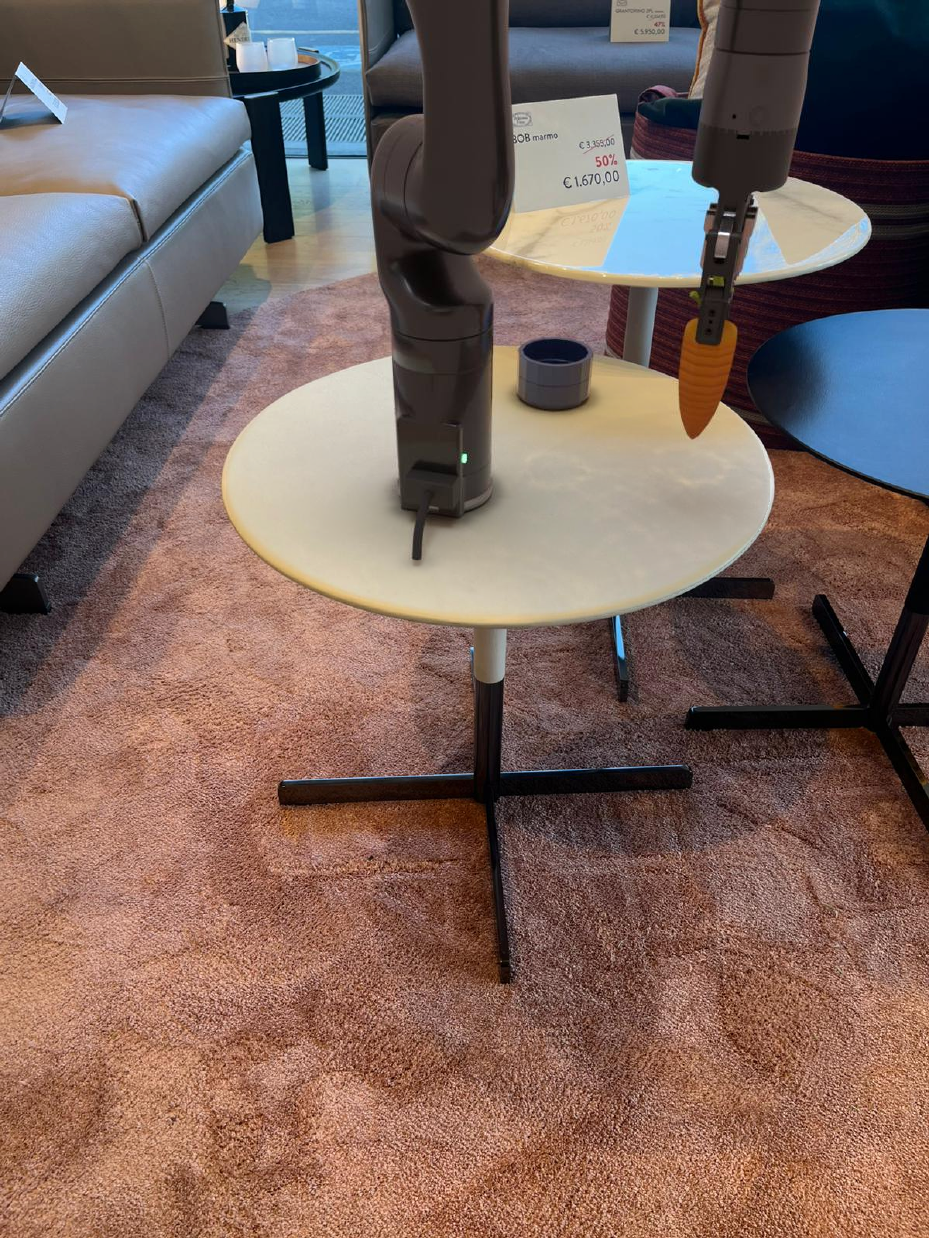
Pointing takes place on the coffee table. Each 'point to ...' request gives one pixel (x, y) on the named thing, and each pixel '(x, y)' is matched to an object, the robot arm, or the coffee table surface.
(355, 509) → the coffee table surface
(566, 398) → the cylindrical container
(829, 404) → the coffee table surface
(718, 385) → the carrot
